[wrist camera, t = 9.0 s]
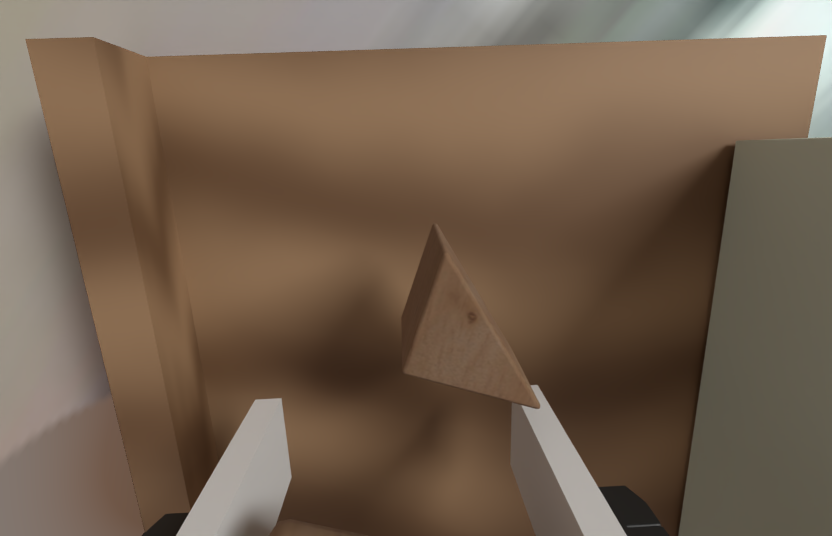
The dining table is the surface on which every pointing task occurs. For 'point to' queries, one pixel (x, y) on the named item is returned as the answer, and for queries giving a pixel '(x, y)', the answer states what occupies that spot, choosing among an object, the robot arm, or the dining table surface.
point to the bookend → (768, 352)
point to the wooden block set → (447, 345)
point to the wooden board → (407, 254)
